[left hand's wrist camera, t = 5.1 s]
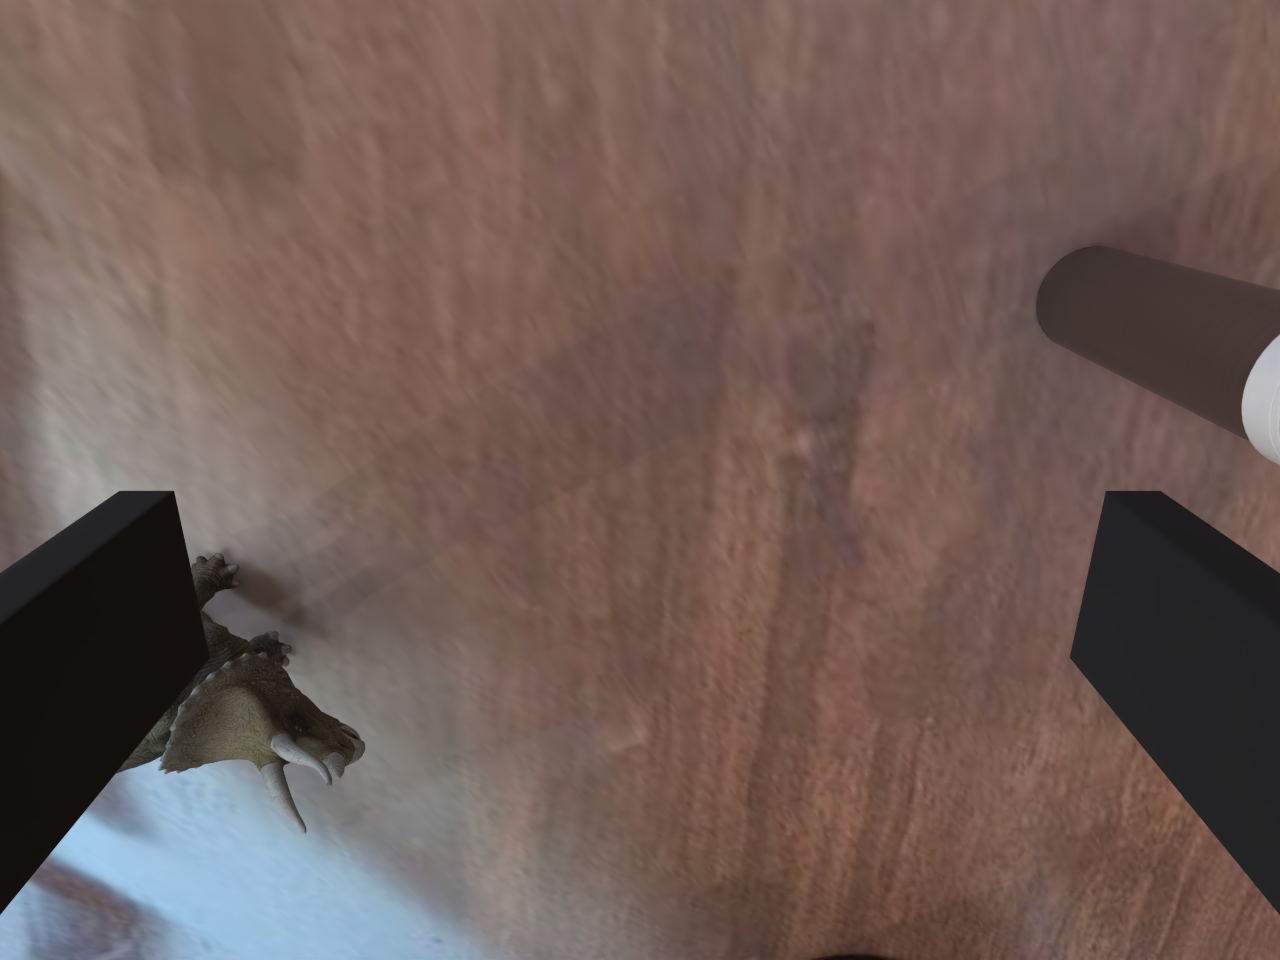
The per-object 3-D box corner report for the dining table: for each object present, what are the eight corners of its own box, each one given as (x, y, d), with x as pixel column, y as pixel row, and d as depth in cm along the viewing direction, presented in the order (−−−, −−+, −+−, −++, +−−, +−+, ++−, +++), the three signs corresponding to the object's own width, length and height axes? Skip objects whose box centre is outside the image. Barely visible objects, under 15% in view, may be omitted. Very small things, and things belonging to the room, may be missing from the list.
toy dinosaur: (19, 725, 47) (-157, 893, 37) (-51, 590, 44) (-264, 732, 34) (410, 671, 46) (343, 830, 36) (367, 528, 43) (279, 656, 32)
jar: (1050, 241, 38) (1311, 311, 23) (1152, 251, 38) (1475, 326, 23) (1024, 343, 40) (1251, 469, 25) (1121, 352, 40) (1404, 482, 25)
